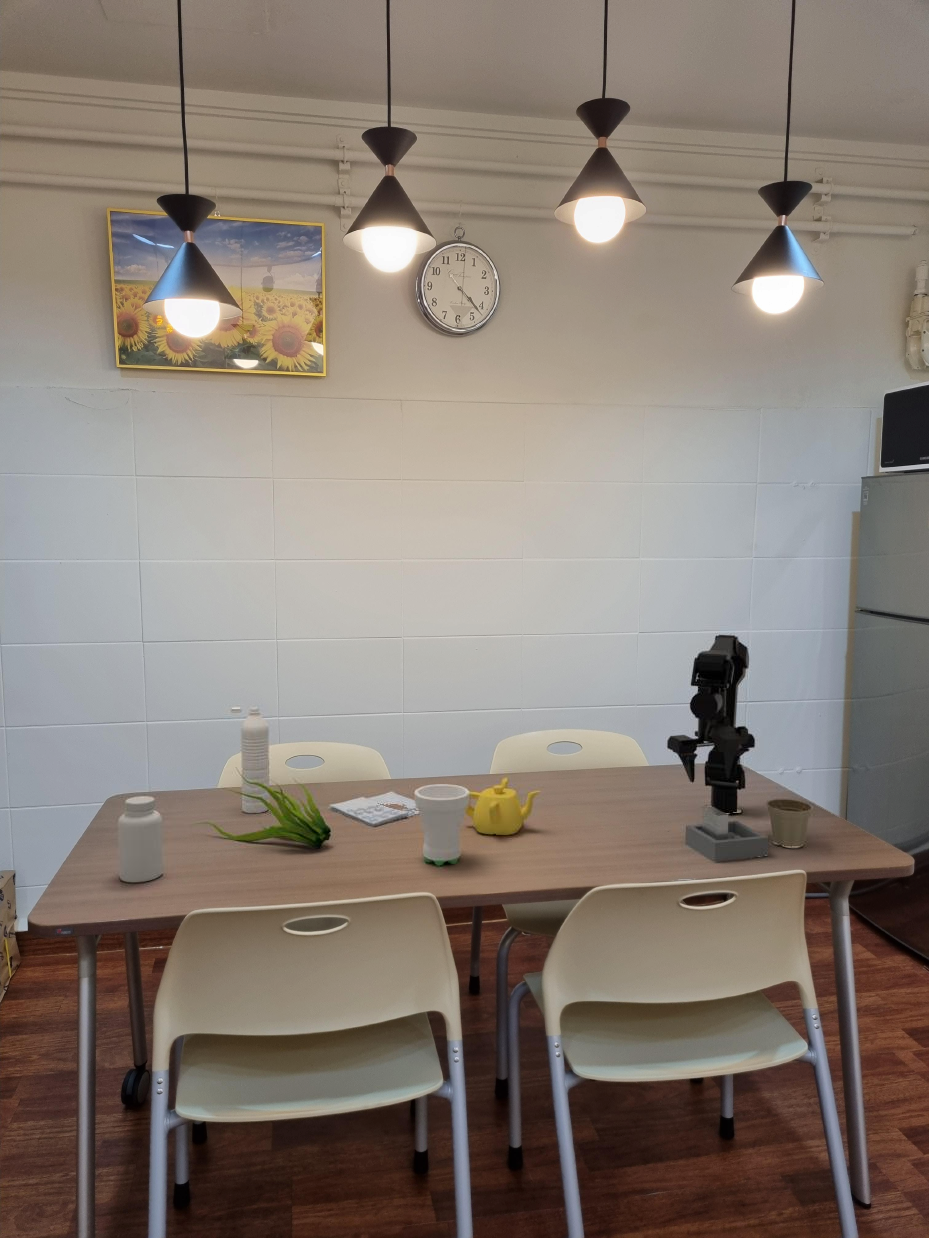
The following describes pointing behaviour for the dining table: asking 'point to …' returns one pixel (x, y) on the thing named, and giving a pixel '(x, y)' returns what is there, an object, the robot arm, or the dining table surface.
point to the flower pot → (789, 821)
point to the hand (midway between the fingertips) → (710, 780)
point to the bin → (728, 843)
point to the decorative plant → (288, 820)
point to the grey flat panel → (376, 808)
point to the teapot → (499, 810)
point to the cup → (442, 820)
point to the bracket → (716, 824)
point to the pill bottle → (140, 841)
